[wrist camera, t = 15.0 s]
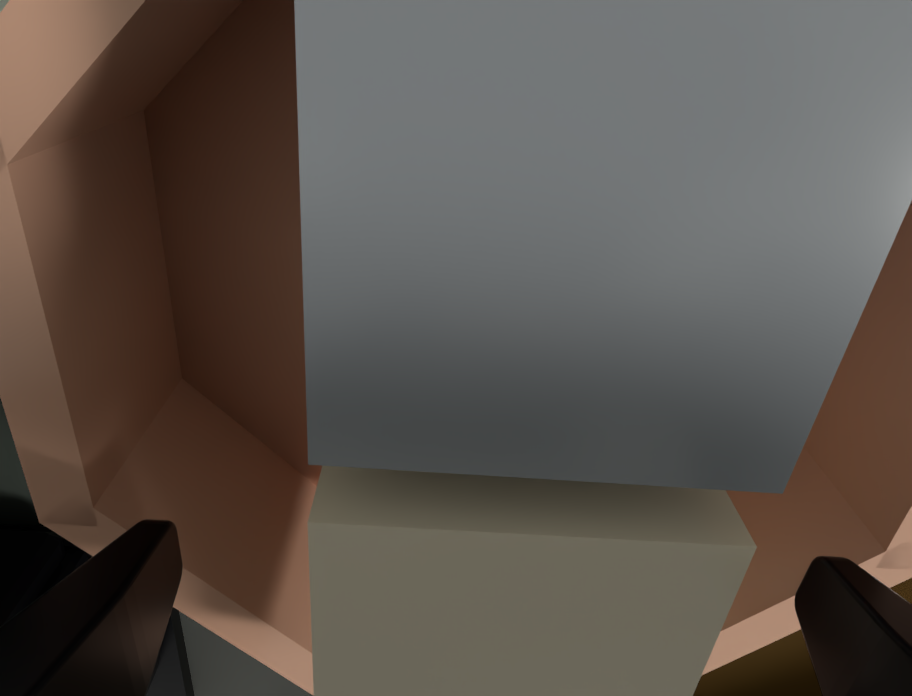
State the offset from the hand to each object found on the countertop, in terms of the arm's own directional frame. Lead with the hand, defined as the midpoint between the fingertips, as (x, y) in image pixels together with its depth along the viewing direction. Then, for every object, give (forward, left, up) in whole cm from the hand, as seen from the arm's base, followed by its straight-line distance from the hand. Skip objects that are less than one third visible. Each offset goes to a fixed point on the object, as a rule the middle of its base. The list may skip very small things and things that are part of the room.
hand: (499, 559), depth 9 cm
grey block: (+5, 0, -4) cm, 6 cm away
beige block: (0, 0, -4) cm, 4 cm away
